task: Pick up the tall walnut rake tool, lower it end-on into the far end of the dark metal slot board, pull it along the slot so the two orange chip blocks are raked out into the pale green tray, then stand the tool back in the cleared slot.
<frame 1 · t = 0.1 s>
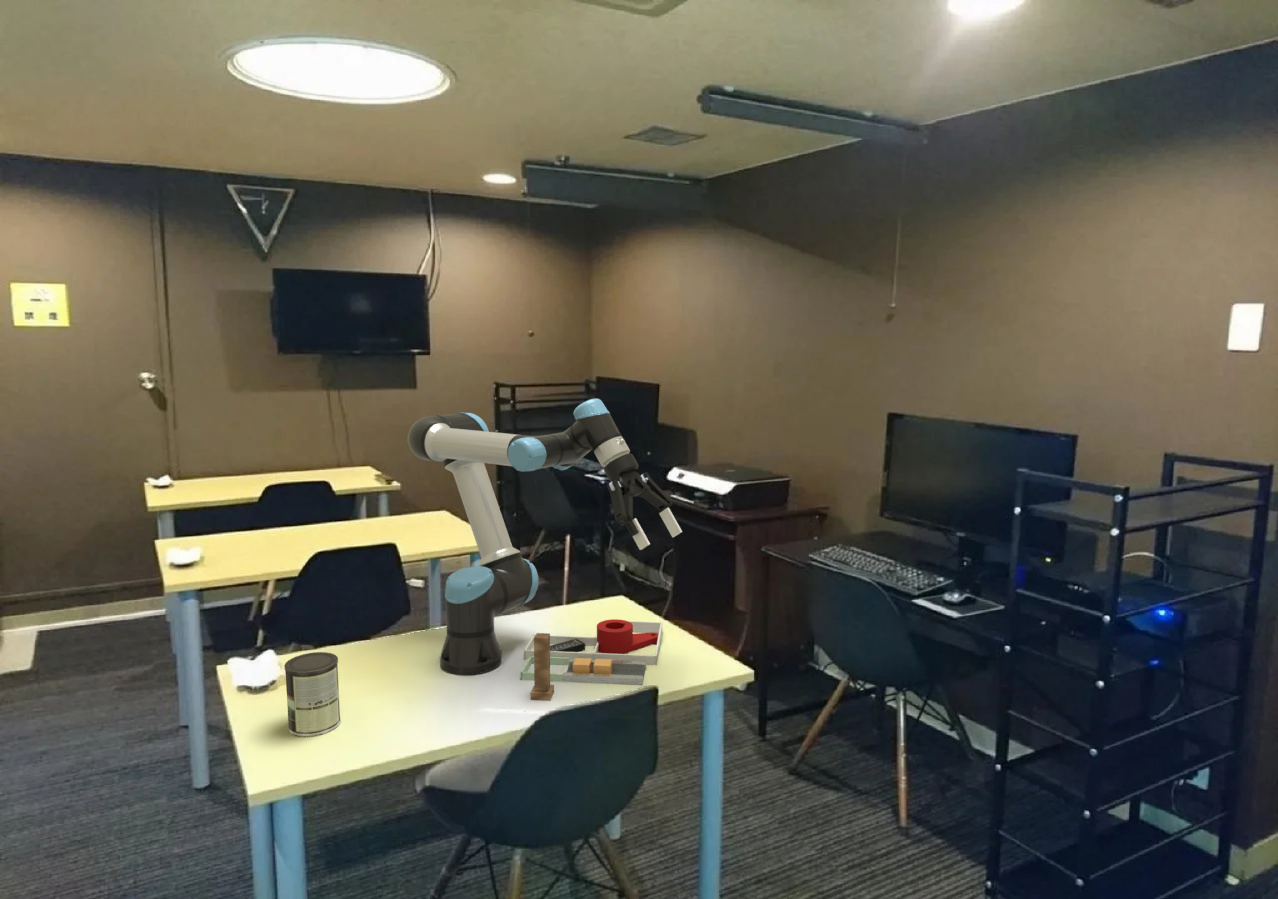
hand: (661, 540, 179), 36 cm above the table, tool tilted 35°, fingers open, 13 cm apart
coffee can: (314, 726, 167), on the table
chip a: (582, 673, 192), point 1 cm above the table, touching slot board
rake tool: (542, 699, 180), on the table
chip b: (602, 674, 191), point 1 cm above the table, touching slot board
tray: (545, 674, 193), on the table
lever: (629, 648, 210), resting in organizer
organizer: (597, 646, 211), on the table
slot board: (604, 677, 192), on the table
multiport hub: (563, 655, 205), resting in organizer
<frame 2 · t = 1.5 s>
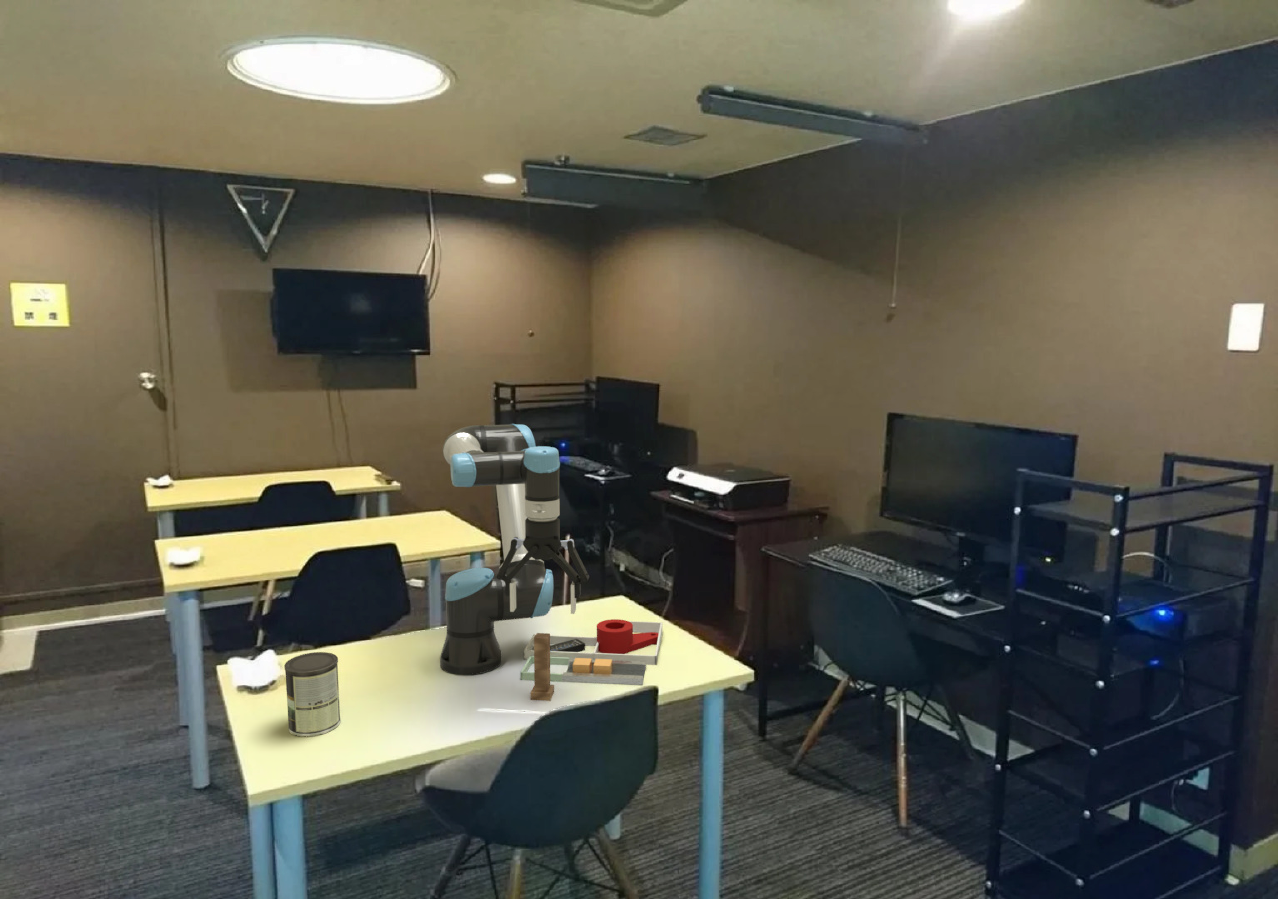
hand: (543, 610, 177), 21 cm above the table, tool pointing down, fingers open, 13 cm apart
nothing on the table moved.
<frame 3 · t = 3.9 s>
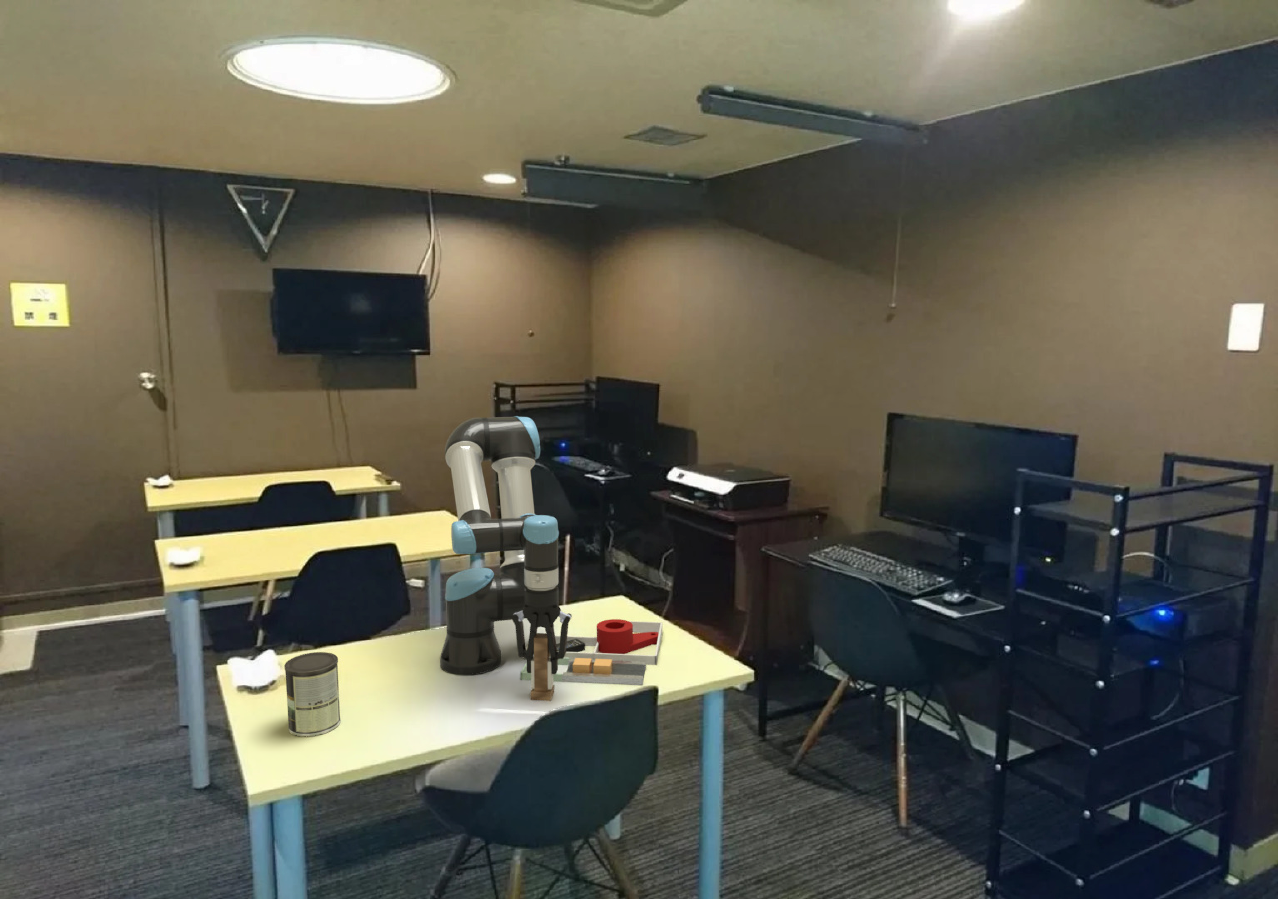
hand: (542, 686, 179), 3 cm above the table, tool pointing down, fingers closed on rake tool, 3 cm apart
rake tool: (542, 699, 180), on the table, touching gripper
everything else where it was.
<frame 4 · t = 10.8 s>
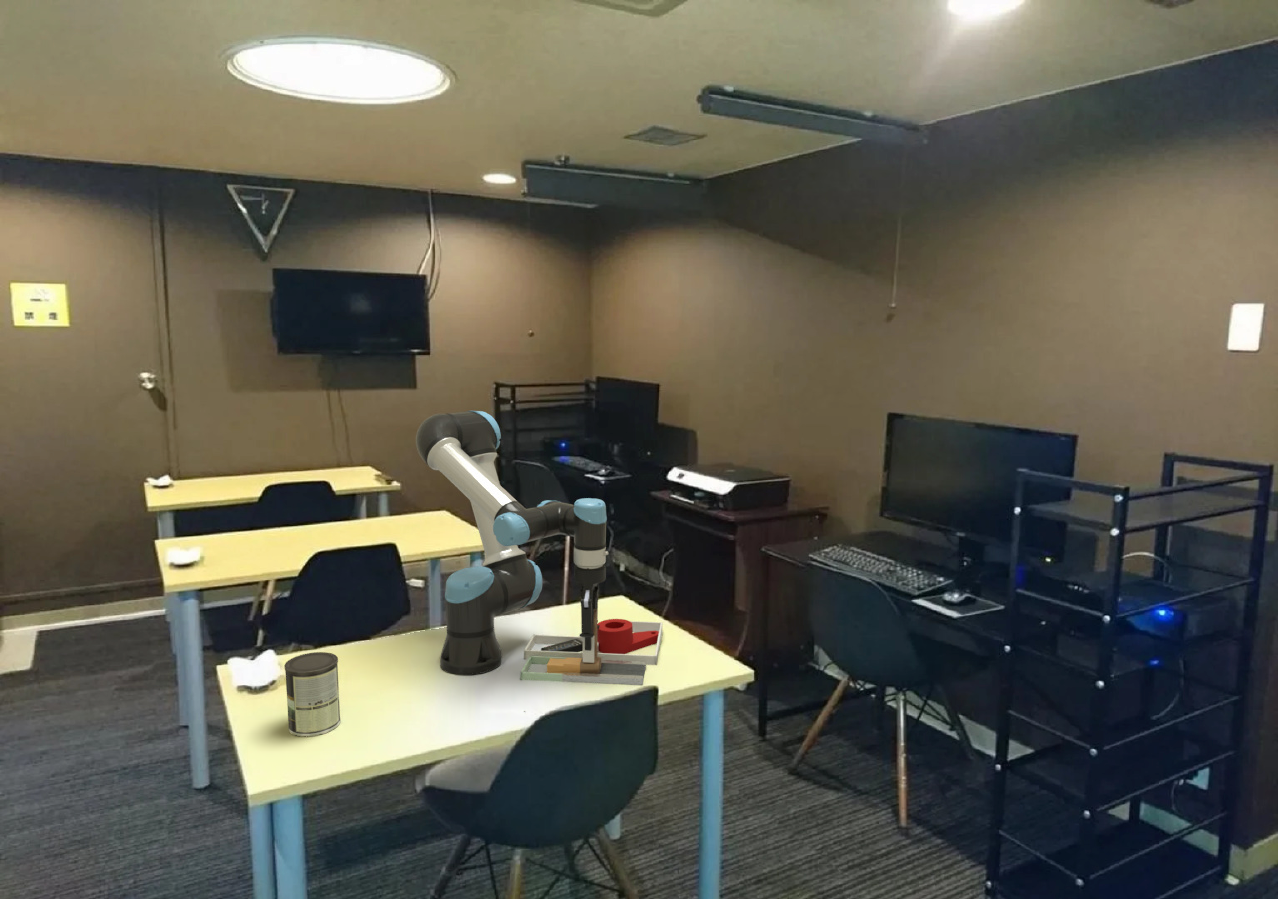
hand: (589, 658, 191), 5 cm above the table, tool pointing down, fingers closed on rake tool, 3 cm apart
chip a: (556, 673, 193), resting on tray, touching chip b
rake tool: (590, 670, 192), point 2 cm above the table, touching gripper
chip b: (573, 672, 192), point 1 cm above the table, touching chip a
everything else where it was.
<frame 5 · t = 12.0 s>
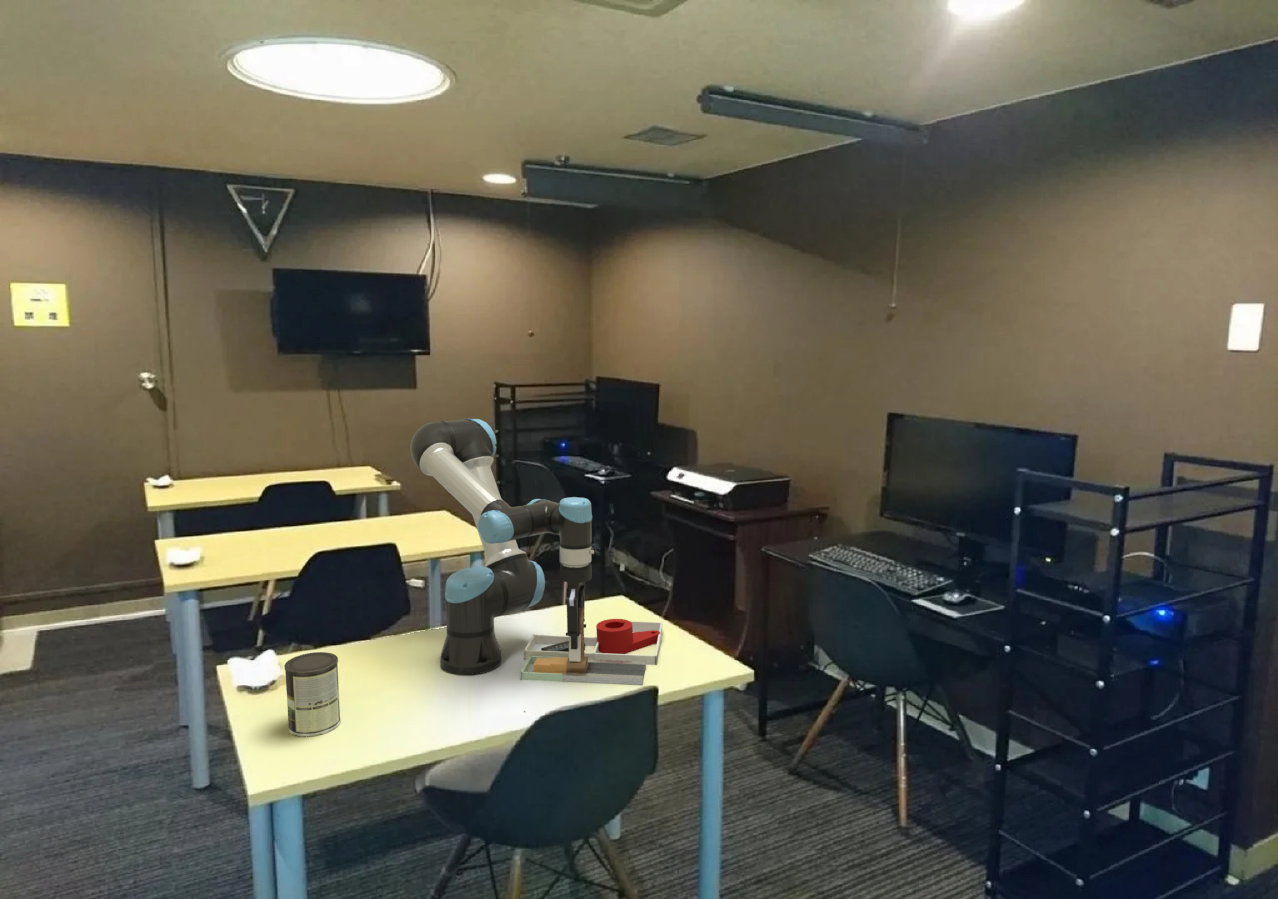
hand: (576, 657, 192), 5 cm above the table, tool pointing down, fingers closed on rake tool, 3 cm apart
chip a: (543, 673, 193), resting on tray, touching chip b
rake tool: (577, 669, 192), point 2 cm above the table, touching chip b, gripper
chip b: (560, 672, 192), point 1 cm above the table, touching chip a, rake tool
everything else where it was.
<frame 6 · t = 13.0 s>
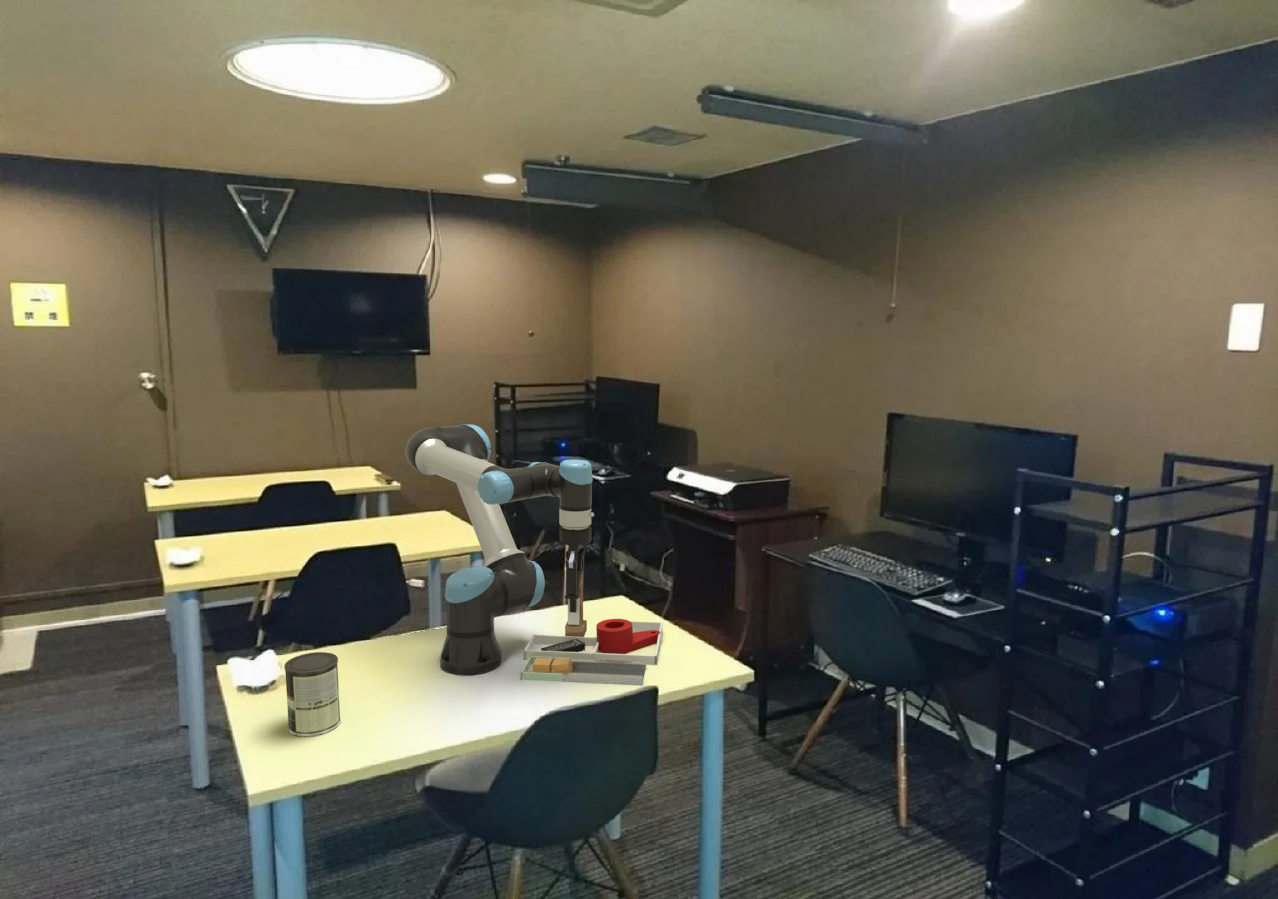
hand: (574, 621, 191), 14 cm above the table, tool pointing down, fingers closed on rake tool, 3 cm apart
chip a: (542, 673, 193), resting on tray
rake tool: (576, 633, 191), point 11 cm above the table, touching gripper
chip b: (563, 673, 192), point 1 cm above the table, tilted 8°, touching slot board, tray
everything else where it was.
when the fingers open (5 cm above the table, at t = 16.8 s): rake tool drops 1 cm, resting on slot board.
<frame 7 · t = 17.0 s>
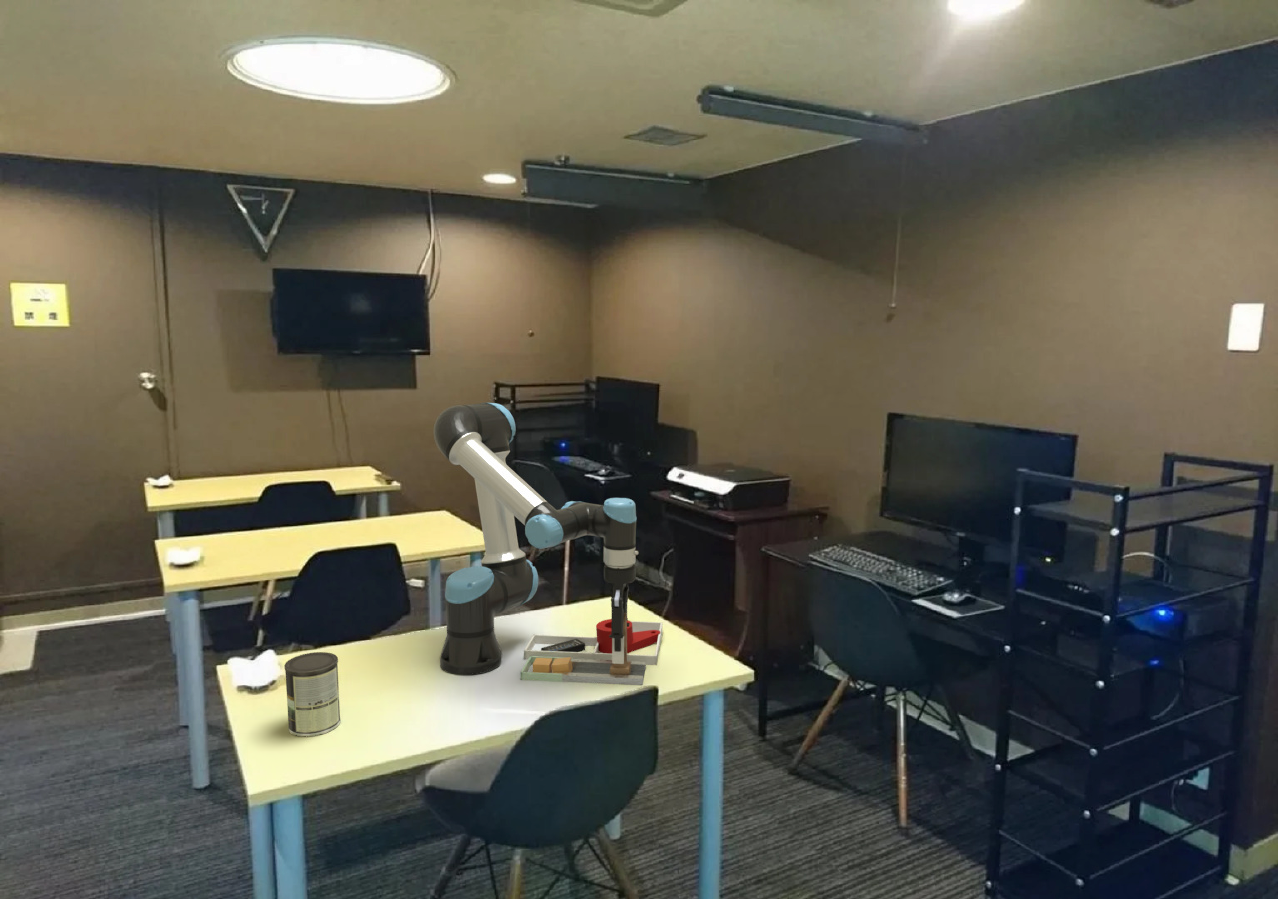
hand: (619, 658, 191), 5 cm above the table, tool pointing down, fingers open, 5 cm apart
rake tool: (620, 675, 191), point 1 cm above the table, touching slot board
everything else where it was.
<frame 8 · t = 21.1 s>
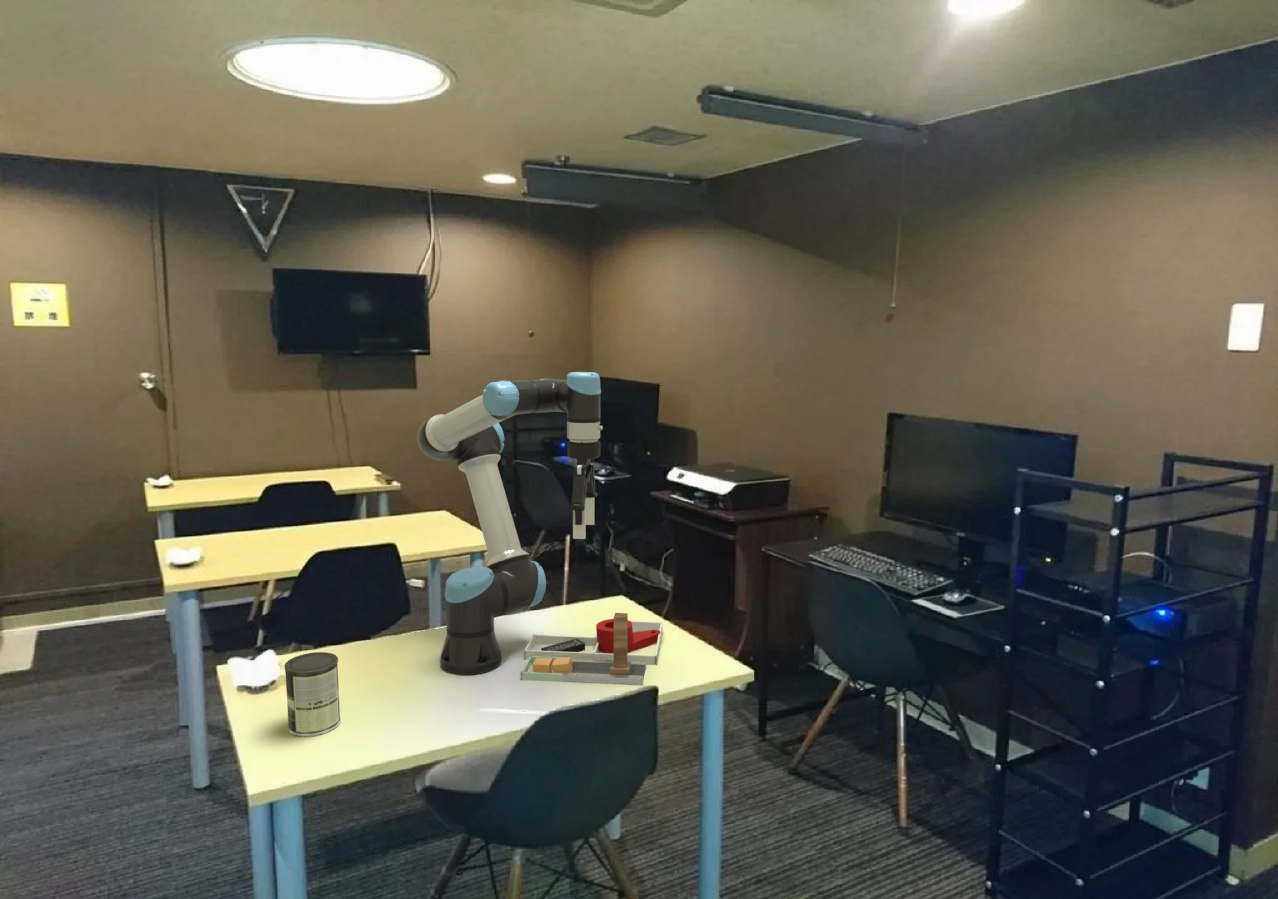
hand: (584, 531, 184), 37 cm above the table, tool pointing down, fingers open, 13 cm apart
nothing on the table moved.
at the end: chip a inside the target area (1.2 cm from its centre), resting on tray; chip b inside the target area (3.8 cm from its centre), point 0.7 cm above the table; rake tool tilted 0° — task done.
